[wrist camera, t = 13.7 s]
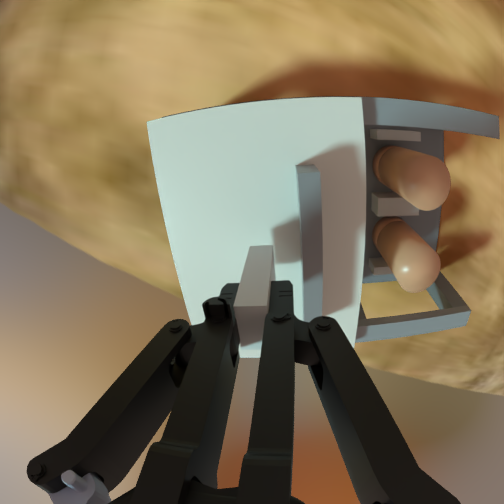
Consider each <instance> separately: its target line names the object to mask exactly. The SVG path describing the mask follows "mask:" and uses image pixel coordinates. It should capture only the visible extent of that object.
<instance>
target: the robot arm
mask: <svg viewBox="0 0 504 504" xmlns="http://www.w3.org/2000/svg"><path fill="white" fill-rule="evenodd" d="M202 307H203V311H204V315H205V321H204V322H203V323H200V324H196V325H191V326H189V323H188V322H187V321H186V320H183V319H176V320H172V321H170V322H168V323H167V324H166V325H164V327H163V328H162V329H161V330H160V331H159V332H158V333H157V334H156V336H155V337H154V338H153V339H152V340H151V341H150V342H149V343H148V345H147V346H146V347H145V348H144V349H143V350H142V351H141V353H140V354H139V355H138V356H137V357H136V358H135V359H134V360H133V361H132V363H131V364H130V365H129V366H128V367H127V368H126V369H125V371H124V372H123V373H122V374H121V375H120V376H119V377H118V379H117V380H116V381H115V382H114V383H113V384H112V385H111V387H110V388H109V389H108V390H107V391H106V392H105V394H104V395H103V396H102V397H101V398H100V399H99V400H98V402H97V403H96V404H95V405H94V406H93V407H92V408H91V410H90V411H89V412H88V413H87V414H86V416H85V417H84V418H83V419H82V420H81V421H80V422H79V424H78V425H77V426H76V427H75V429H73V431H72V432H71V433H70V434H69V436H68V437H67V438H66V439H65V440H63V441H61V442H60V443H58V444H57V445H55V446H53V447H52V448H50V449H48V450H47V451H45V452H43V453H41V454H40V455H38V456H36V457H35V458H33V459H32V460H31V461H30V462H29V464H28V466H27V475H28V478H29V479H30V481H31V482H33V483H34V484H35V485H37V486H38V487H40V488H41V489H43V490H45V491H46V492H47V493H48V494H49V496H50V498H51V500H52V501H53V503H54V504H305V503H304V502H302V501H300V500H299V499H297V498H295V497H293V496H291V484H292V464H293V437H294V436H293V435H294V393H295V390H294V389H295V362H296V363H300V364H305V365H308V368H309V371H310V373H311V376H312V379H313V381H314V384H315V386H316V389H317V392H318V394H319V397H320V400H321V402H322V405H323V407H324V410H325V412H326V415H327V418H328V420H329V423H330V425H331V428H332V431H333V434H334V436H335V438H336V441H337V444H338V447H339V449H340V452H341V455H342V457H343V460H344V462H345V465H346V468H347V471H348V473H349V476H350V479H351V481H352V484H353V487H354V489H355V492H356V494H357V497H358V499H359V501H360V503H361V504H461V503H460V502H459V501H458V499H457V498H456V497H454V496H453V495H452V494H451V493H449V492H448V491H447V490H445V489H444V488H443V487H442V486H441V485H440V484H438V483H437V482H436V481H435V480H433V479H432V478H431V477H430V476H429V475H427V474H426V473H425V472H424V471H422V470H421V469H420V468H419V467H418V465H417V463H416V461H415V459H414V457H413V455H412V453H411V451H410V449H409V447H408V445H407V443H406V442H405V439H404V438H403V436H402V434H401V432H400V430H399V428H398V426H397V425H396V423H395V421H394V419H393V418H392V415H391V414H390V412H389V410H388V408H387V406H386V404H385V403H384V401H383V399H382V397H381V396H380V394H379V392H378V390H377V389H376V387H375V385H374V383H373V381H372V380H371V378H370V376H369V374H368V373H367V371H366V369H365V367H364V366H363V364H362V362H361V360H360V359H359V357H358V355H357V354H356V352H355V350H354V349H353V347H352V345H351V343H350V342H349V340H348V338H347V337H346V335H345V333H344V332H343V330H342V328H341V327H340V325H339V323H338V322H337V321H336V320H335V319H334V318H332V317H329V316H319V317H316V318H314V319H312V320H311V321H310V322H305V321H302V320H300V319H298V318H297V317H296V316H295V315H294V298H293V284H292V283H291V282H290V281H289V280H282V281H276V276H275V263H274V251H273V245H260V246H250V247H249V251H248V254H247V258H246V262H245V265H244V269H243V273H242V276H241V280H240V283H227V284H226V285H225V286H224V287H223V288H222V289H221V292H220V295H219V297H212V298H209V299H207V300H206V301H204V302H203V304H202ZM239 344H240V346H241V350H261V355H260V363H259V370H258V379H257V386H256V393H255V401H254V408H253V415H252V424H251V430H250V437H249V444H248V450H247V453H246V454H245V455H244V458H243V462H242V467H241V474H240V479H239V486H238V487H235V488H225V489H217V469H218V464H219V459H220V454H221V450H222V444H223V439H224V435H225V429H226V425H227V419H228V414H229V409H230V404H231V399H232V394H233V389H234V383H235V379H236V374H237V368H238V363H239V358H240V355H239ZM173 359H174V360H173ZM170 411H171V413H170ZM169 413H170V416H169V419H168V422H167V425H166V427H165V430H164V433H163V436H162V438H161V440H160V441H159V442H155V443H153V444H152V445H151V446H150V448H149V451H148V453H147V456H146V459H145V461H144V464H143V467H142V470H141V473H140V475H139V478H138V481H137V484H136V487H134V488H133V489H131V490H130V491H128V492H126V493H125V494H123V495H122V496H120V497H118V498H116V499H115V500H113V501H111V499H110V497H109V492H110V491H111V490H113V489H114V488H115V487H116V486H117V485H118V484H119V483H120V482H121V481H122V480H123V479H124V477H125V476H126V475H127V474H128V472H129V471H130V469H131V468H132V466H133V465H134V464H135V462H136V461H137V459H138V458H139V457H140V455H141V453H142V452H143V451H144V449H145V448H146V447H147V445H148V444H149V442H150V441H151V439H152V438H153V436H154V435H155V433H156V432H157V430H158V429H159V428H160V426H161V425H162V423H163V422H164V420H165V419H166V417H167V416H168V414H169Z"/></svg>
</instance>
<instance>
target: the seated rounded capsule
mask: <svg viewBox="0 0 504 504" xmlns="http://www.w3.org/2000/svg"><path fill="white" fill-rule="evenodd" d="M372 240H373V243H374V244H375V246H376V248H377V249H378V251H379V252H380V254H381V255H382V257H383V258H384V260H385V261H386V263H387V265H388V266H389V268H390V269H391V271H392V273H393V274H394V276H395V277H396V279H397V281H398V282H399V284H400V286H401V287H402V288H403V289H404V290H405V291H408V292H412V293H416V292H420V291H423V290H425V289H427V288H428V287H430V286H431V285H432V284H433V283H434V281H435V280H436V278H437V277H438V275H439V272H440V267H441V262H440V258H439V256H438V254H437V253H436V252H435V251H434V250H433V249H432V248H431V247H430V246H429V245H428V244H427V243H426V242H425V241H424V240H423V239H422V238H421V237H420V236H419V235H418V234H417V233H416V232H415V231H414V230H413V229H412V228H411V227H410V226H409V225H408V224H407V223H406V222H405V221H404V220H403V219H401V218H400V217H398V216H385V217H383V218H381V219H380V220H379V221H378V222H377V223H376V224H375V226H374V228H373V232H372Z"/></svg>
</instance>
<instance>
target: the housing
mask: <svg viewBox="0 0 504 504" xmlns="http://www.w3.org/2000/svg"><path fill="white" fill-rule="evenodd" d="M323 97H353V96H323ZM297 98H315V97H297ZM281 99H293V98H281ZM361 99H362V109H363V121H364V135H365V155H366V231H365V251H364V266H363V279H362V283H374V282H386V281H397V279H396V277H395V276H394V274H393V273H392V271H391V269H390V268H389V266H388V265H387V263H386V261H385V260H384V258H383V257H382V255H381V254H380V252H379V251H378V249H377V248H376V246H375V244H374V243H373V240H372V232H373V228H374V226H375V224H376V223H377V222H378V221H379V220H380V219H381V218H383V217H385V216H398V217H400V218H401V219H403V220H404V221H405V222H406V223H407V224H408V225H409V226H410V227H411V228H412V229H413V230H414V231H415V232H416V233H417V234H418V235H419V236H420V237H421V238H422V239H423V240H424V241H425V242H426V243H427V244H428V245H429V246H430V247H431V248H432V249H433V250H434V251H435V252H436V246H437V240H438V232H439V224H440V215H441V206H439V207H438V208H436V209H434V210H430V211H424V210H420V209H418V208H416V207H415V206H414V205H412V204H411V203H410V202H408V201H407V200H405V199H404V198H403V197H401V196H400V195H398V194H397V193H396V192H394V191H393V190H391V189H390V188H388V187H387V186H385V185H384V184H382V183H381V182H380V181H379V180H378V179H377V178H376V176H375V174H374V172H373V159H374V156H375V154H376V153H377V151H378V150H379V149H381V148H382V147H384V146H387V145H394V146H398V147H402V148H406V149H410V150H413V151H417V152H421V153H424V154H427V155H431V156H434V157H437V158H439V159H440V160H441V161H442V162H443V163H444V133H443V130H447V131H455V132H462V133H469V134H475V135H481V136H486V137H491V138H496V139H499V116H496V115H492V114H488V113H484V112H479V111H475V110H470V109H465V108H460V107H455V106H449V105H443V104H437V103H430V102H422V101H414V100H404V99H393V98H378V97H361ZM270 100H279V99H270ZM259 101H267V100H259ZM250 102H257V101H250ZM242 103H249V102H242ZM235 104H241V103H235ZM228 105H233V104H228ZM221 106H226V105H221ZM215 107H220V106H215ZM209 108H214V107H209ZM203 109H208V108H203ZM198 110H202V109H198ZM193 111H197V110H193ZM188 112H192V111H188ZM183 113H187V112H183ZM178 114H182V113H178ZM174 115H177V114H174ZM169 116H173V115H169ZM165 117H168V116H165ZM162 118H164V117H162ZM426 290H427V291H428V292H429V294H430V295H431V297H432V298H433V300H434V301H435V303H436V304H437V306H438V307H439V309H440V310H435V311H428V312H421V313H414V314H406V315H398V316H390V317H381V318H371V319H366V317H365V314H364V311H363V308H362V305H361V302H360V308H359V316H358V324H357V331H356V338H355V343H356V342H366V341H375V340H383V339H391V338H398V337H405V336H412V335H418V334H424V333H430V332H436V331H441V330H447V329H452V328H457V327H462V326H466V324H467V321H468V318H469V315H470V313H471V310H470V308H469V307H468V306H467V304H466V303H465V302H464V300H463V299H462V298H461V297H460V295H459V294H458V293H457V291H456V290H455V289H454V288H453V286H452V285H451V284H450V283H449V281H448V280H447V279H446V278H445V277H444V275H443V274H442V273H441V272H439V275H438V277H437V278H436V280H435V281H434V283H433V284H432V285H431V286H430V287H428V288H427V289H426Z"/></svg>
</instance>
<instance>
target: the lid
mask: <svg viewBox="0 0 504 504" xmlns="http://www.w3.org/2000/svg"><path fill="white" fill-rule="evenodd" d="M147 127H148V134H149V140H150V147H151V153H152V159H153V165H154V170H155V176H156V181H157V186H158V191H159V196H160V201H161V206H162V211H163V216H164V220H165V225H166V229H167V234H168V238H169V242H170V246H171V251H172V255H173V259H174V263H175V267H176V270H177V274H178V278H179V282H180V286H181V289H182V293H183V297H184V300H185V304H186V307H187V311H188V314H189V318H190V321H191V324H192V325H196V324H200V323H203V322H204V321H205V315H204V311H203V307H202V304H203V302H204V301H206V300H207V299H209V298H212V297H219V295H220V292H221V289H222V288H223V287H224V286H225V285H226V284H227V283H240V280H241V276H242V273H243V269H244V265H245V262H246V258H247V254H248V251H249V247H250V246H260V245H273V251H274V263H275V276H276V281H282V280H289V281H290V282H291V283H292V284H293V298H294V315H295V316H296V317H297V318H298V319H300V320H302V321H305V322H310V321H311V320H312V319H314V318H316V317H319V316H329V317H332V318H334V319H335V320H336V321H337V322H338V323H339V325H340V327H341V328H342V330H343V332H344V333H345V335H346V337H347V338H348V340H349V342H350V343H351V345H352V347H353V349H354V345H355V338H356V331H357V324H358V316H359V308H360V299H361V290H362V279H363V266H364V251H365V231H366V155H365V135H364V121H363V109H362V99H361V97H315V98H293V99H279V100H267V101H257V102H249V103H241V104H233V105H226V106H220V107H214V108H208V109H202V110H197V111H192V112H187V113H182V114H177V115H173V116H168V117H164V118H160V119H156V120H152V121H148V122H147ZM239 355H240V358H247V357H248V358H260V355H261V350H241V346H240V344H239Z"/></svg>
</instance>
